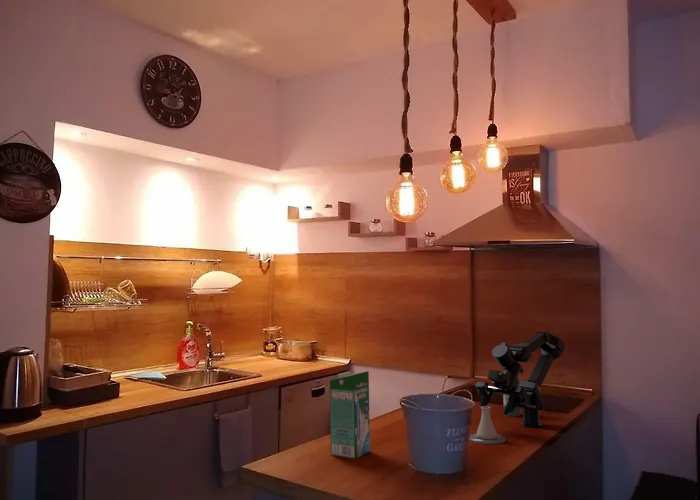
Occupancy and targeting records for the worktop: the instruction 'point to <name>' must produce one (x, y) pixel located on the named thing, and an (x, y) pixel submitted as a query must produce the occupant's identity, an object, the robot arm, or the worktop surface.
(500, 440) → the slate coaster
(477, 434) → the flask
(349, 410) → the milk carton
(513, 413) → the can
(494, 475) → the worktop surface
